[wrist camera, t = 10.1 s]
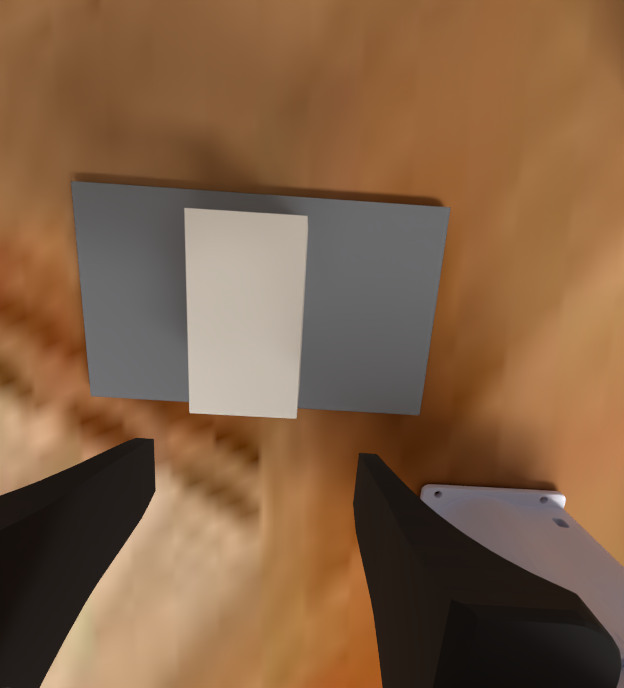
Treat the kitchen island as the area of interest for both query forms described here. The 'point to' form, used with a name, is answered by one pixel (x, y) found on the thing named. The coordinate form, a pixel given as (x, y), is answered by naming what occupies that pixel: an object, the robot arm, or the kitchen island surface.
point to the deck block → (245, 311)
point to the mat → (319, 300)
